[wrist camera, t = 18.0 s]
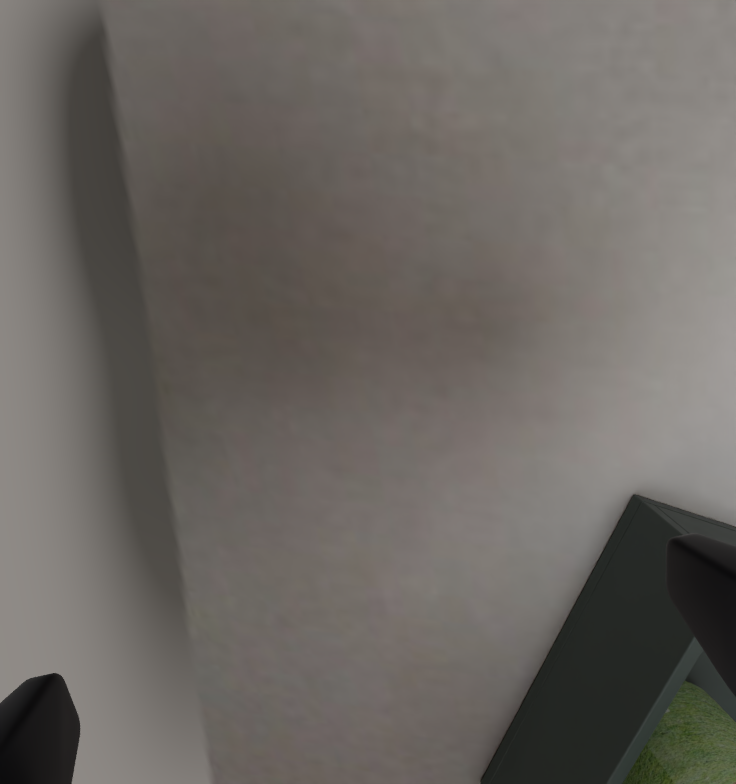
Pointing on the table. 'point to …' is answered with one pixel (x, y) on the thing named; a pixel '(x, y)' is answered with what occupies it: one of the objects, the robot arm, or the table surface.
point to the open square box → (613, 662)
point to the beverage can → (689, 744)
